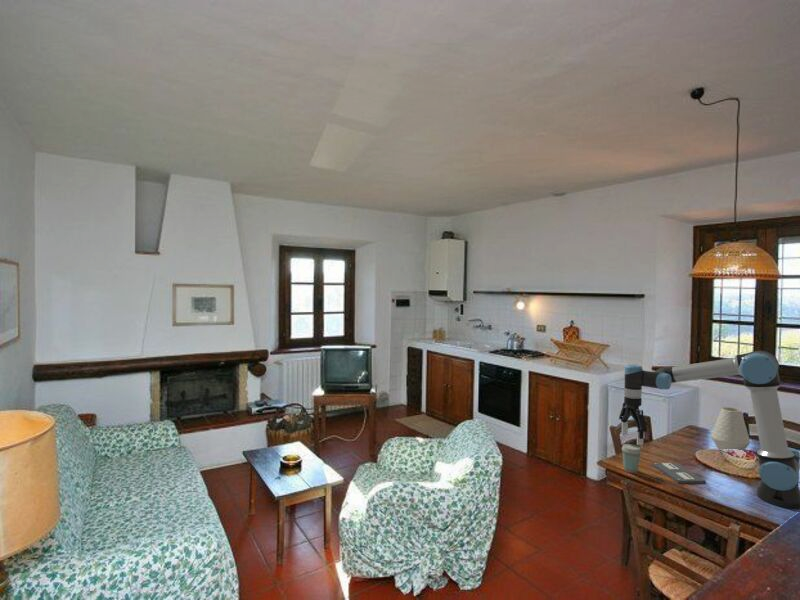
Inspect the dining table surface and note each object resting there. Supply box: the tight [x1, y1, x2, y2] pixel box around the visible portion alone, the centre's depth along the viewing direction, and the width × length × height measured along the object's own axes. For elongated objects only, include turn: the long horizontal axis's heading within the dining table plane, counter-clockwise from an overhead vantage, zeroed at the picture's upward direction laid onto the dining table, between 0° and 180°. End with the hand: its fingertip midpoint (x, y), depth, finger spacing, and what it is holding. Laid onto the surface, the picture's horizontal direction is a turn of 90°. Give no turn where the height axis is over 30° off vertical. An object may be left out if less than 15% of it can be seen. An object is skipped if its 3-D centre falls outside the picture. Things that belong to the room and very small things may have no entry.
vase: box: [710, 406, 751, 451], centre depth 245 cm, size 17×17×23 cm
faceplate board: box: [651, 462, 706, 484], centre depth 215 cm, size 20×13×2 cm, turn 2°
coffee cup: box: [621, 443, 642, 474], centre depth 218 cm, size 8×8×12 cm
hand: (632, 439), depth 217 cm, fingers open, 13 cm apart
